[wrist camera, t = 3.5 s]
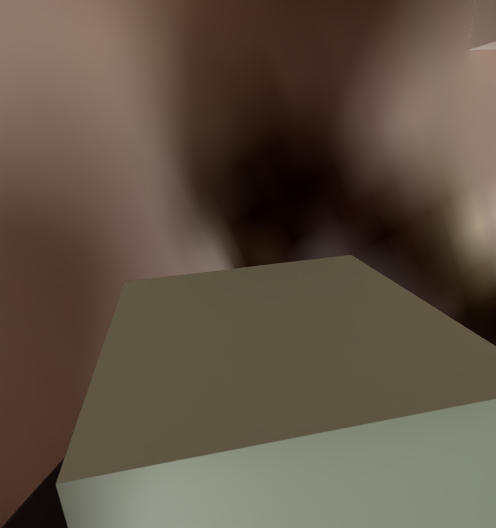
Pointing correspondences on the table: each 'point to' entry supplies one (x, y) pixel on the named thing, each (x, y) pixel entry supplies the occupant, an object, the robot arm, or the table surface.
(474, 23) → the cream cube
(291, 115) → the table surface
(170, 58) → the table surface
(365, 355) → the sage cube
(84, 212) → the table surface
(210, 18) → the table surface
